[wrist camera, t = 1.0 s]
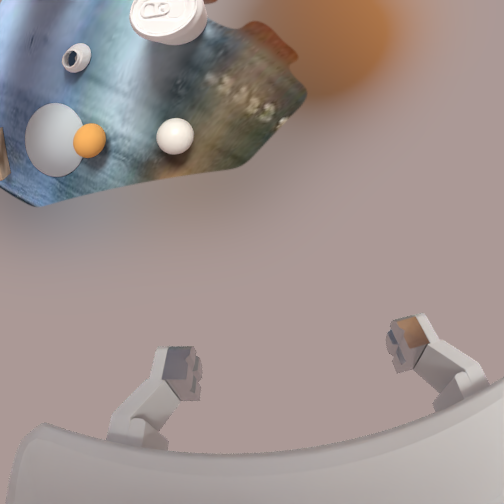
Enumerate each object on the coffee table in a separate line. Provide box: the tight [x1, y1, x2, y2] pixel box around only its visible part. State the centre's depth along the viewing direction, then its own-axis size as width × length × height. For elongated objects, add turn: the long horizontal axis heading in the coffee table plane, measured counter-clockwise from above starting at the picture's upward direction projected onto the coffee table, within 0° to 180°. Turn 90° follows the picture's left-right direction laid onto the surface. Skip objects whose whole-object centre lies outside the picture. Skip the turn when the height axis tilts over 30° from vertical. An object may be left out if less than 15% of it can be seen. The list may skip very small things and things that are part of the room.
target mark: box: [25, 103, 83, 177], centre depth 34 cm, size 14×14×1 cm
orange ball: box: [73, 123, 106, 158], centre depth 34 cm, size 6×6×6 cm
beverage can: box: [130, 0, 207, 45], centre depth 22 cm, size 8×8×12 cm
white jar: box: [62, 43, 91, 73], centre depth 26 cm, size 5×3×5 cm
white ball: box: [157, 118, 194, 154], centre depth 36 cm, size 6×6×6 cm
